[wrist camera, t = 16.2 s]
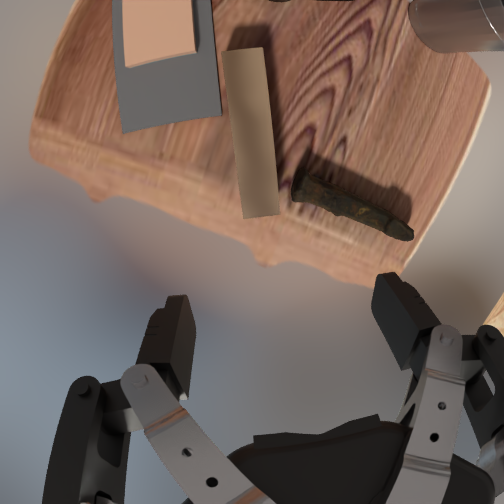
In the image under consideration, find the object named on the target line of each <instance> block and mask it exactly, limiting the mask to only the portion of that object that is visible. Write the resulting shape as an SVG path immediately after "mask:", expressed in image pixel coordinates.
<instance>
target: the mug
mask: <svg viewBox="0 0 504 504" xmlns="http://www.w3.org/2000/svg"><path fill="white" fill-rule="evenodd" d="M270 1H274V2H287V1H290V0H270ZM318 1H353V0H318Z"/></svg>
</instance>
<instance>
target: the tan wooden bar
mask: <svg viewBox="0 0 504 504" xmlns="http://www.w3.org/2000/svg"><path fill="white" fill-rule="evenodd" d="M221 54H222V62H223V70H224V77H225V85H226V93H227V100H228V108H229V115H230V123H231V131H232V138H233V146H234V153H235V161H236V168H237V175H238V183H239V190H240V198H241V205H242V212H243V219H248V218H256V217H264V216H273V215H280V206H279V194H278V182H277V171H276V160H275V150H274V140H273V130H272V120H271V111H270V102H269V93H268V85H267V77H266V69H265V61H264V53H263V47H260V48H248V49H238V50H230V51H222V52H221Z"/></svg>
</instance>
